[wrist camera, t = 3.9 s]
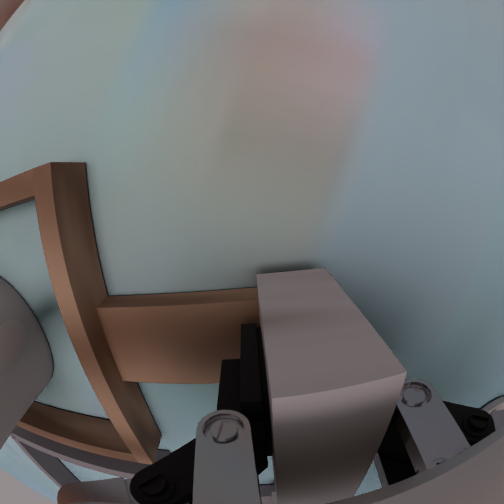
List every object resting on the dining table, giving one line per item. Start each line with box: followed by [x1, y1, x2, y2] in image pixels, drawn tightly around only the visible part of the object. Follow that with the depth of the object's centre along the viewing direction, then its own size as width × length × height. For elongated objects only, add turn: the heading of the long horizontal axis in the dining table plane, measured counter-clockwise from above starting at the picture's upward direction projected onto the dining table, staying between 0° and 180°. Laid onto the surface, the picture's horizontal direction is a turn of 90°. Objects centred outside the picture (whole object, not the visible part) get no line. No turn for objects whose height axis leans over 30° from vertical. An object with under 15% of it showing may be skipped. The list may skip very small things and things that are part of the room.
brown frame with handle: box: [0, 162, 407, 504], centre depth 8 cm, size 16×26×7 cm, turn 95°
